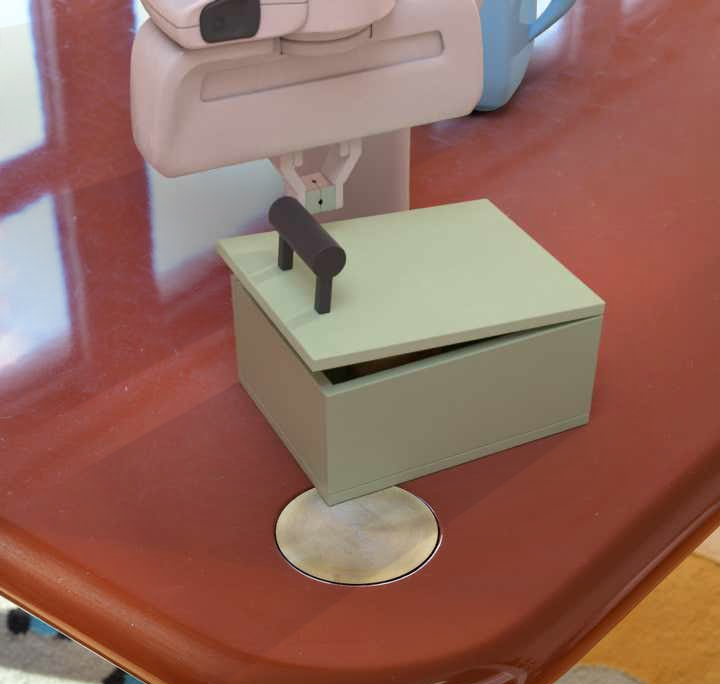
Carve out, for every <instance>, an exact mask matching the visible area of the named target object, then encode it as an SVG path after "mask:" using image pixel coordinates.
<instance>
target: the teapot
mask: <svg viewBox="0 0 720 684" xmlns="http://www.w3.org/2000/svg"><path fill="white" fill-rule="evenodd" d="M577 1H578V0H551V1H550V2H549V3H548V5H547V7H546V8H545V9H544V10H543V12H542V13H541V14H540V15H539V16H538V0H483V4H482V8H481V10H480V13H479V16H480V24H481V33H482V45H483V93H482V96H481V98H480V100H479V101H478V103H477V105H476V106H475V108H474V109H473V110H475V111H480V112H490V111H494V110H497V109H498V108H501V107H503V106H504V105H505V104H507V103H508V101H510V99H511V98H512V96H513V95H514V93H515V92H516V91H517V89H518V87H519V86H520V84H521V82H522V81H523V78H524V77H525V74H526V72H527V69H528V65H529V63H530V61H531V56H532V52H533V50H534V45H535V40H536V39H537V38H538V37H539V36H541V35H542V34H543V33H544V32H546V31H548V29H549V28H551V27H552V26H554V25H555V24H556V23H558V21H559V20H561V19H562V18H563V17H564V16H565V15H566V14H567V13H568V12H569V11H570V10H571V9H572V8H573V6H574V5H575V3H576V2H577Z"/></svg>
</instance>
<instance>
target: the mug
mask: <svg viewBox="0 0 720 684" xmlns="http://www.w3.org/2000/svg"><path fill="white" fill-rule="evenodd" d="M330 149H331V146H330V145H325V146H320V147H316V148H311V149H306V150H303V164H302V165H301V166H298V167H295V166H293V168H294V170H295V171H296V173H297V174H298V176H299V177H300V176H306V175H310V174H314V173H318V172H321V168H322V166H323V164H324V162H325V160H326V157H327V155H328V153H329V151H330ZM410 155H411V127H410V128H405V129H400V130H396V131H391V132H386V133H382V134H377V135H372V136H367V137H363V138H362V154H361V155H360V157H359V159H358V161H357V162H356V164H355V166H354V168H353V169H352V171H351V173H350V175H349V177H348V178H347V180H346V182H345V183H343V206H342V208H338V209H334V210H330V211H325V212H321V213H317V214H313V215H312V216H313V217H314V218H315V219H316V220H317V221H318V223H319V224H323V223H330V222H336V221H343V220H349V219H356V218H362V217H369V216H375V215H382V214H388V213H395V212H401V211H408V210H410V164H411V163H410V162H411V156H410Z"/></svg>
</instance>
